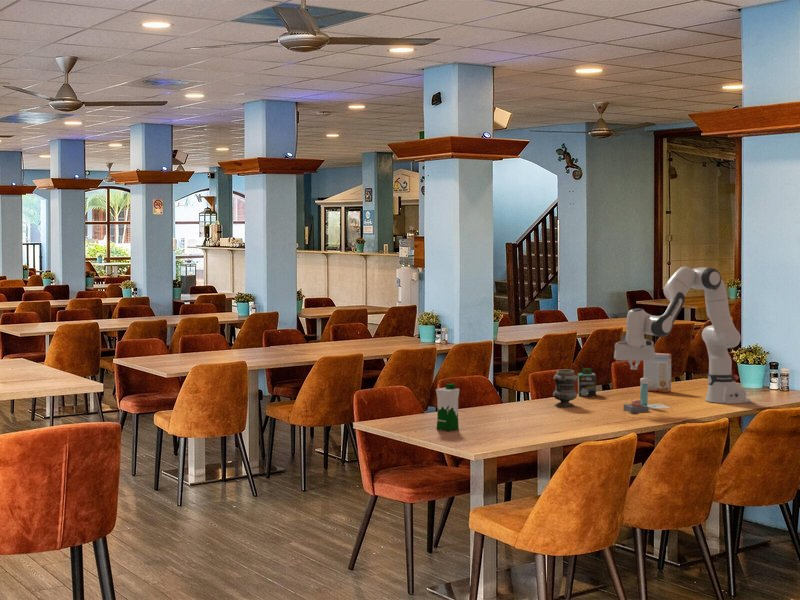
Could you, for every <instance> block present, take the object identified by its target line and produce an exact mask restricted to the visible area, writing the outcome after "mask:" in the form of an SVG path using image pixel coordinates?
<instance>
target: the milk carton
mask: <svg viewBox="0 0 800 600" xmlns="http://www.w3.org/2000/svg"><path fill="white" fill-rule="evenodd" d="M435 393H436V398H437V419H436V430H438V429H441V430H440V431H444V430H448V431H447V432H450V431H449V430H452V431H456V430H455V429H457V430H459V428H460V427H459V396H460V388H457V387H456V384H455V383H452V382H451V383H450V382H448V383H445V387H441V388H440V387H439V388H435Z"/></svg>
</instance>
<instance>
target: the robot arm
mask: <svg viewBox="0 0 800 600" xmlns="http://www.w3.org/2000/svg"><path fill="white" fill-rule="evenodd" d="M694 289H695V290H703V292H704V299H705V300H704V301H705V307H706V308H705V310H706V315H707V318H708V319H709V320H710V322H711V325H707V326H705V327H704V328H703V329H702V331H701V338H702V340H703V343H705V346H706V349H707V355H708V374H707V376H708V377H707V383H708V385H707V393H706V397H705V401H706V402H710V403H711V402H712V403H716V404H728V405H731V404H733V405H734V404H743V403H751V399H750V398H748V397H747V391H746V389H745V388H744V387H743V386H741V385H740V384H739V383H738V382H736V380H738V379H739V376H738V375H737V374H735V375H734V374H732V371H733V370H732V366H733V365H732V363H733V362H732V357H731V355H730V354H729V351H728V349H732V348H736V347H737V346H738V345H739V344H740V342H741V334H740V331H739V330H737V328H736V326H735V324H734V322H733V318H732V317H731V313H730V306H729V299H728V293H727V288H726V285H725V282H724V280H723V279H722V277H721V273H720V272H719V271H718V269H716V268H713V267H705V266H704V267H702V266H700V267H689V266H685V265H684V266H681V267H679V268H678V269H677V270H676V271H675V272H674V273H673V274H672V275H671V276H670V277H669V278H668V280H667V282H666V283H665V285H664V286H663V294H664V297H665V298H666V299H667V300H668V301H669V304H668V305H667V308H666V310H665V312H664V313H663V314H661V315H652V314H650V313H648V312H646V311H645V309H643V308H642V307H641V308H639V307H638V308H631V309H629V310H628V312H627V314H626V325H625V327H626V334H625V341H617V342H615V343H614V352H613V354H614V355H613V359H614V360H615V361H628V364H629V366H630V370H634V371H635V370H638V366H639V365H640V363H641V361H644V360H654V359H655V353H656V349H655V347H654V344H655V343H654V341H652V340H649V339H648V338H645V335H649V336H656V337H659V338H666V337H667V336H669V334H670V333H671V331H672V329H673V326H674V323H675V321H676V319H677V318H678V316H679V314H680V311H681V310H682V308H683V306H684V304H685V302H686V295H687V293H688V292H689V290H694ZM634 361H635V365H633V363H634Z"/></svg>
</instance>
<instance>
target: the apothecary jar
mask: <svg viewBox="0 0 800 600" xmlns="http://www.w3.org/2000/svg"><path fill="white" fill-rule="evenodd" d="M553 380H554V382H555V390H553V393H552V396H553V397H554V399H555V400H558V401H560V402H557V403H555V404H554V406H555V407H558V408H574V407H575V404H574V403H572V402H570V401H573V400H575V399H576V398H577V397H578V392H577V391H576V390H575V388H576V387H575V386H576V385H575V383H576V382H578V375H576V374H575V370H573V369H564V368H563V369H557V370H556V373H555V374H554V375H553Z"/></svg>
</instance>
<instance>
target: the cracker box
mask: <svg viewBox="0 0 800 600" xmlns="http://www.w3.org/2000/svg"><path fill="white" fill-rule="evenodd" d="M642 378H648V392H656V391H659V392H658V393H670V392H672V353H664V352H663V353H662V352H661V353H660V352H655V359H654V360H643V377H642ZM669 391H670V392H669Z"/></svg>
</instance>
